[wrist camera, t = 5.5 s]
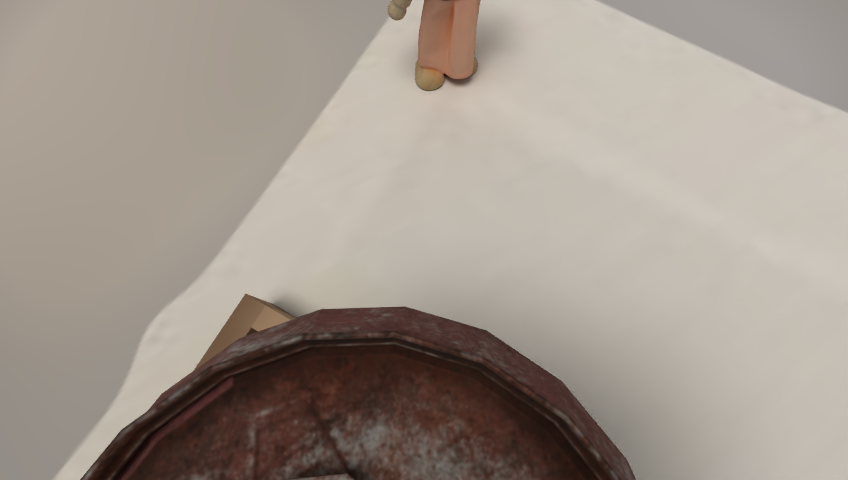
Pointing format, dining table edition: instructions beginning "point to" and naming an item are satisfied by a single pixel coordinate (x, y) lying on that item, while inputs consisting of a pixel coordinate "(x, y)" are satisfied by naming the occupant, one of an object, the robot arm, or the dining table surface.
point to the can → (365, 409)
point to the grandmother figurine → (443, 39)
